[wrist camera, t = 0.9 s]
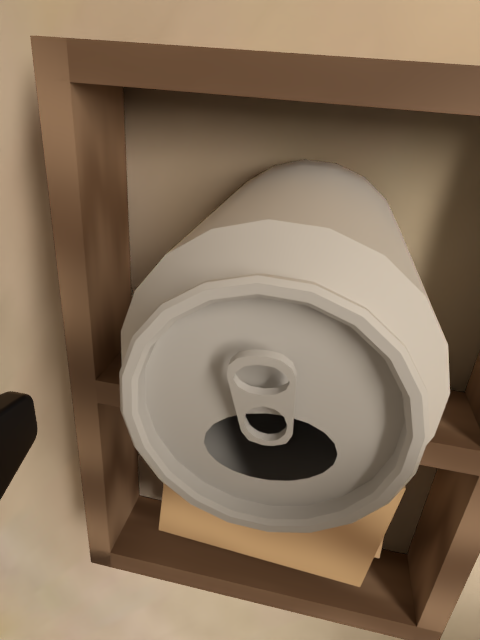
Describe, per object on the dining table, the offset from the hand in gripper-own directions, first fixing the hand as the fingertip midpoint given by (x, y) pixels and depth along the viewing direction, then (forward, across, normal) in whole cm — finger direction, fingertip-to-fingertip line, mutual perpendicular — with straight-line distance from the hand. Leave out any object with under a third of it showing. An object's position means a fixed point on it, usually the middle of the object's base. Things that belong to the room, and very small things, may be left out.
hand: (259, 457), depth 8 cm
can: (+13, 0, 0) cm, 13 cm away
